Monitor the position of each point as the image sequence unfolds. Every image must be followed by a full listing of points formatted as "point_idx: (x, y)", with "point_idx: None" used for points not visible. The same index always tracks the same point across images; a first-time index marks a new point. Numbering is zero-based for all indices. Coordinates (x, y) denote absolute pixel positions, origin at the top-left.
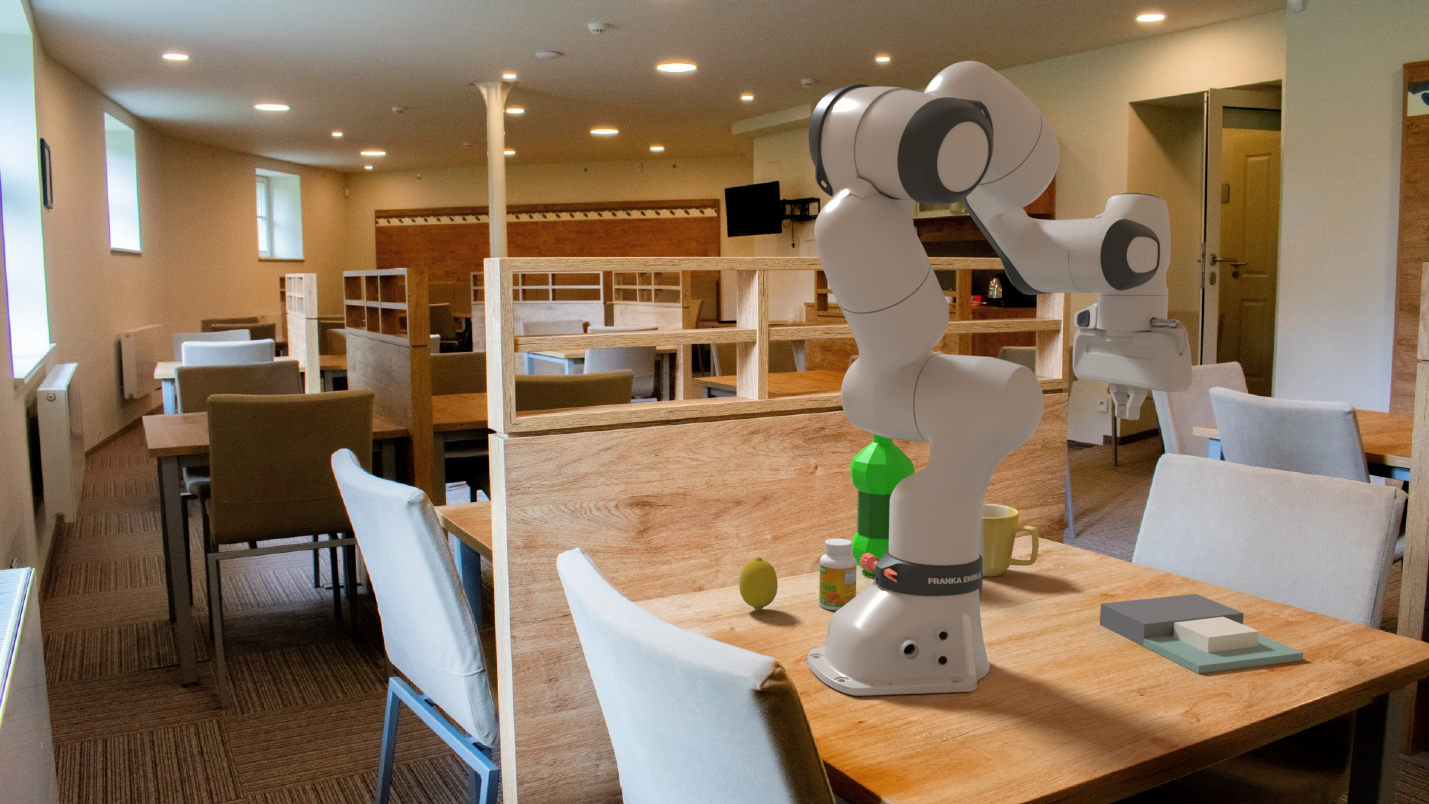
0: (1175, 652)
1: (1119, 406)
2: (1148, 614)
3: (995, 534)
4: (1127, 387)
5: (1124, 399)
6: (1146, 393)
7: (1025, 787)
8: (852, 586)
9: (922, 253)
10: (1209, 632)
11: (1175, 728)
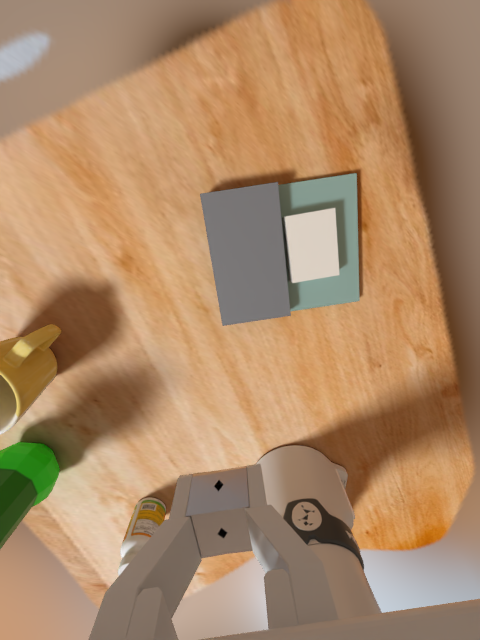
0: (325, 302)
1: (212, 552)
2: (264, 295)
3: (34, 388)
4: (159, 631)
5: (177, 556)
6: (325, 576)
7: (466, 481)
8: (157, 520)
9: None
10: (326, 264)
11: (435, 372)
